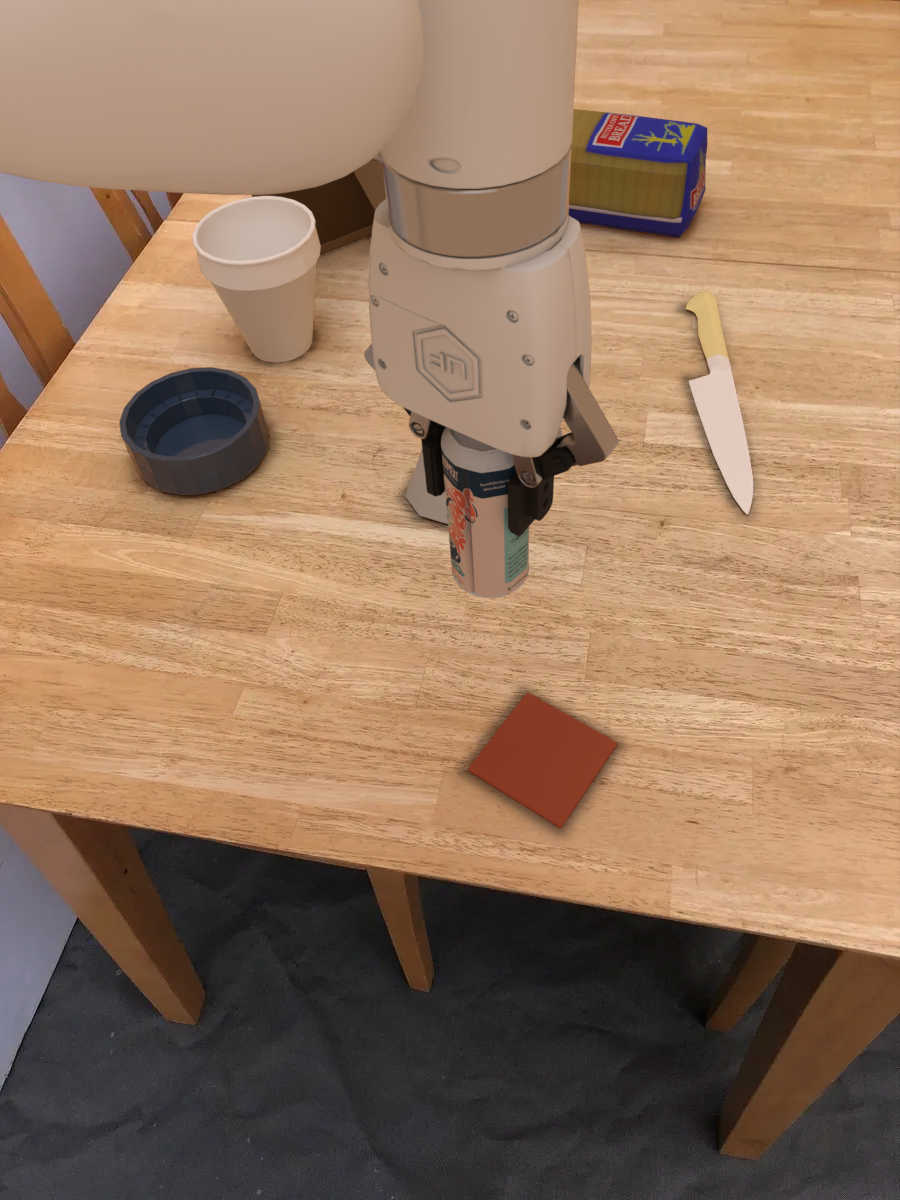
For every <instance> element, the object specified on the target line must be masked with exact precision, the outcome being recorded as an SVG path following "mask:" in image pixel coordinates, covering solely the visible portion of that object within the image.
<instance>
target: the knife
mask: <svg viewBox="0 0 900 1200" xmlns="http://www.w3.org/2000/svg"><path fill="white" fill-rule="evenodd" d="M684 309H685V310H686V311H687V310H688V311H690V312H692V313H694V314H695V316H696V318H697V334H698V335H697V336H698V338H699V341H700V346H701V348H702V351H703V354H704V356H705V359H706V363H707V366H708V369H709V374H706V375H704V376H700V377H697V378H693V379H690V380H688V384H689V388H690V390H691V393H692V398H693V400H694V404H695V407H696V409H697V412H698V415H699V418H700V421H701V424H702V426H703V430H704V432H705V436H706V438H707V441H708V444H709V446H710V449H711V452H712V455H713V458H714V459H715V461H716V464H717V467H718V469H719V470H720V473H721V475H722V477H723V479H724V482H725V483H726V486H727V488H728V489H729V492H730V493H731V495H732V498H733V499H734V501H735V502H736V503H737V505H738V506H739V507H740V509H741V510H742V511H743V512H744V513H745V515H747V516H749V514H750V511H751V507H752V503H753V498H754V476H753V470H752V468H753V467H752V463H751V457H750V451H749V446H748V440H747V436H746V430H745V425H744V419H743V415H742V411H741V406H740V402H739V398H738V394H737V393H738V392H737V389H736V385H735V380H734V375H733V371H732V366H731V362H730V359H729V354H728V350H727V345H726V341H725V336H724V335H725V334H724V330H723V326H722V321H721V317H720V312H719V306H718V301H717V298H716V296H715V294H713V293H712V292H711V291H709V290H706V291H705V290H704V291H700V292H698V293H695V295H693V297H691V298H690V299H689V301H688V302H687V304H686V306H685V307H684Z"/></svg>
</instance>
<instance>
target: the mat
mask: <svg viewBox="0 0 900 1200" xmlns="http://www.w3.org/2000/svg"><path fill="white" fill-rule="evenodd" d="M617 746H618V742H617V741H616V740H613V739H612V738H610V737H608V736H606V735H605V734H603V733H601V732H599V731H597V730H596V729H594V728H592V727H591V726H589V725H587V724H585V723H583V722H582V721H580V720H578V719H576V718H575V717H573V716H571V715H569V714H568V713H566V712H564V711H562V710H560V709H558V708H557V707H555V706H553V705H551V704H550V703H548V702H546V701H545V700H542V699H541V698H540V697H539V698H538V697H537V696H535V694H534V695H533V694H532V693H530V692H528V691H527V692H526V693H525V694H524V695H523V697H522V698H521V699H520V700H519V702H518V703H517V704H516V705H515V707H514V709H513V710H512V711H511V712H510V714H509V715H508V716H507V717H506V719H505V720H504V721H503V723H502V724H501V725H500V726H499V728H498V729H497V730H496V732H495V733H494V734H493V736H492V737H491V738H490V739H489V741H488V742H487V743H486V744H485V746H484V747H483V749H482V750H481V751H480V752H479V754H478V755H477V756H476V758H475V759H474V760H473V762H471V764H470V766H469V767H468V768H467V771H468V772H469V773H471V774H472V775H474V776H476V777H477V778H479V779H481V780H482V781H484V782H486V783H487V784H489V785H490V786H492V787H494V788H495V789H497V790H498V791H500V792H501V793H503V794H504V795H506V796H508V797H509V798H511V799H512V800H514V801H516V802H518V803H519V804H520V805H523V806H524V807H526V808H527V809H529V810H530V811H532V812H534V813H535V814H536V815H539V816H540V817H542V818H543V819H545V820H546V821H548V822H550V823H552V824H553V825H555V826H557V827H558V828H559V829H561V828H563V826H564V824H565V823H566V821H567V820H568V819H569V817H570V816H571V814H572V813H573V811H574V810H575V808H576V806H577V805H578V803H579V802H580V801H581V799H582V798H583V796H584V795H585V794H586V792H587V790H588V789H589V788H590V786H591V784H592V783H593V782H594V780H595V779H596V777H597V776H598V774H599V773H600V771H601V770H602V768H603V767H604V765H606V762H607V761H608V760H609V758H610V757H611V756H612V754H613V752H614V751H615V749H616V748H617Z"/></svg>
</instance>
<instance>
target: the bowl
mask: <svg viewBox="0 0 900 1200" xmlns="http://www.w3.org/2000/svg"><path fill="white" fill-rule="evenodd" d="M118 422H119V423H118V425H119V431H120V436H121V439H122V441H123V444H124V445H125V447H126V450H127V452H128V454H129V456H130V458H131V461H132V463H133V466H134V467H135V469H136V472H137V473H138V474H139V476H140V477H141V479H142V480H143V481H144V482H145V483H146V484H148V485H149V486H151V487H153V488H154V489H156V490H157V491H160V492H164V493H168V494H174V495H178V496H191V495H193V496H194V495H195V496H196V495H204V494H209V493H211V492H215V491H219V490H223V489H225V488H227V487H230V486H231V485H234V484H235V483H237V482H239V481H241V480H243V479H244V478H246V477H247V476H248V475H249V474H250V473H251V472H253V470H255V469H256V468H257V467H258V466H259V465H260V463H261V461H262V460H263V459H264V457H265V455H266V453H267V452H268V448H269V442H270V437H271V436H270V431H269V428H268V425H267V421H266V417H265V414H264V411H263V407H262V404H261V400H260V397H259V394H258V391H257V388H256V387H255V386H254V385H253V383H251V382H250V380H249V379H248V378H247V377H246V376H243V375H241V374H239V373H237V372H235V371H232V370H231V369H226V368H225V369H224V368H219V367H213V366H212V367H211V366H208V367H205V366H204V367H191V368H190V367H189V368H186V369H182V370H177V371H174V372H170V373H168V374H166V375H163V376H161V377H159V378H157V379H155V380H152V381H151V382H149V383H148V384H146V385H145V386H144V387H142V388H140V390H138V391H137V392H135V393H134V394H133V396H132V397H131V398H130V399H129V401H128V402H127V403H126V405H125V406H124V407H123V409H122V413H121V416H120V419H119V421H118Z"/></svg>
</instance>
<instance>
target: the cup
mask: <svg viewBox="0 0 900 1200" xmlns="http://www.w3.org/2000/svg"><path fill="white" fill-rule="evenodd" d="M315 222H316V221H315V218H314V216H313V213H312V212H311V211H310V210H309V209H308V208H307V207H306V206H305V205H303V204H301V203H299V202H297V201H295V200H292V199H288V198H284V197H276V196H259V197H252V196H250V197H245V198H240V199H235V200H233V201H230V202H227V203H225V204H222V205H219V206H218V207H216V208H214V209H213V210H211V211H209V212H208V213H207V214H206V215H204V217H202V218H201V219H200V220H199V222H198V223H197V224H196V226H195V227H194V228H193V233H192V237H191V241H192V243H193V248H194V249H195V250H196V255H197V259H198V265H199V268H200V272H201V274H202V275H203V276H204V277H205V279H206V280H207V281H209V282H210V283H211V285H212V287H213V288H214V290H215V292H216V293H217V295H218V297H219V299H220V300H221V302H222V304H223V305H224V307H225V309H226V310H227V312H228V314H229V315H230V317H231V319H232V321H233V322H234V324H235V325H236V327H237V329H238V330H239V332H240V334H241V336H242V338H243V340H244V341H245V343H246V345H247V346H248V348H249V350H250V351H251V353H252V355H254V357H255V358H256V359H259V360H260V361H263V362H267V363H275V364H277V363H285V362H290V361H293V360H295V359H298V358H301V356H303V355H304V354H306V353H307V351H309V350H310V348H311V346H312V345H313V335H314V318H315V317H314V316H315V298H316V280H317V265H318V264H317V263H318V260H319V258H320V256H321V254H320V249H321V245H320V242H319V238H318V234H317V230H316V226H315Z"/></svg>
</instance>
